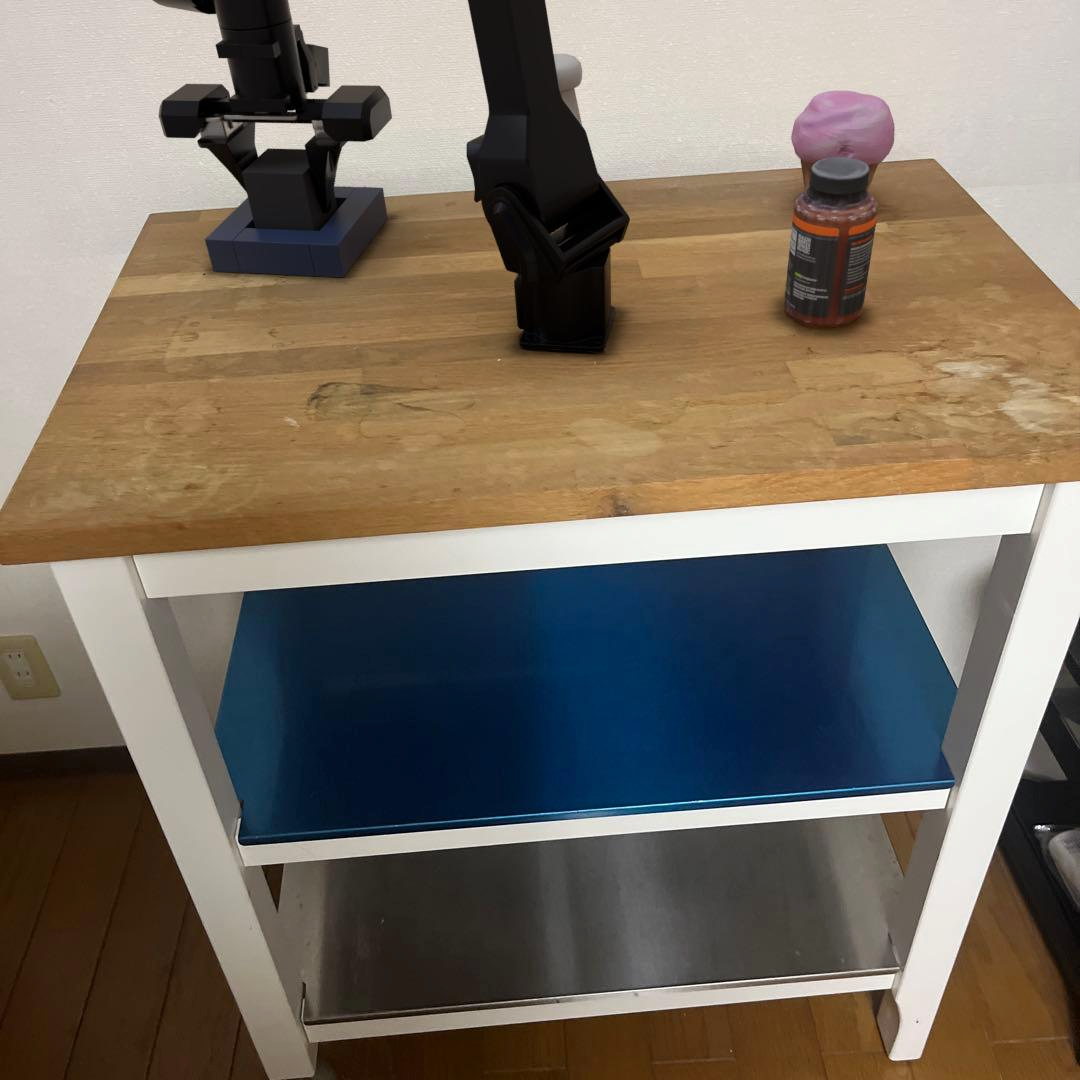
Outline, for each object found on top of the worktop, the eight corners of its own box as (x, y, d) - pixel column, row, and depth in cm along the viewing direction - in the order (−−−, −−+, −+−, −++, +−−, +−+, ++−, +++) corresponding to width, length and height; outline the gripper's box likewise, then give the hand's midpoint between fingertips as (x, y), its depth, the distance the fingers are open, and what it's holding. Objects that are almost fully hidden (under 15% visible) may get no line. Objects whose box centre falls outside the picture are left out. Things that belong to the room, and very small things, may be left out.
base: (387, 218, 97) (383, 187, 95) (343, 277, 88) (337, 244, 86) (268, 214, 100) (261, 183, 98) (213, 271, 91) (204, 239, 89)
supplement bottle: (869, 300, 80) (893, 156, 73) (852, 336, 76) (877, 187, 69) (793, 288, 82) (809, 147, 75) (773, 323, 78) (788, 177, 71)
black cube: (339, 215, 94) (326, 149, 90) (316, 241, 90) (302, 173, 86) (282, 213, 95) (267, 148, 91) (257, 239, 91) (241, 172, 87)
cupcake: (780, 188, 98) (791, 77, 91) (874, 186, 97) (892, 74, 90) (789, 227, 91) (802, 111, 84) (890, 226, 90) (910, 109, 84)
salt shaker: (587, 216, 95) (583, 68, 87) (526, 214, 96) (517, 67, 88) (597, 191, 99) (594, 47, 91) (539, 189, 101) (531, 47, 92)
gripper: (397, -7, 86) (422, 178, 96) (193, -5, 89) (237, 173, 99) (353, 31, 78) (384, 228, 88) (130, 31, 81) (185, 221, 91)
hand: (296, 210), depth 92 cm, fingers closed on black cube, 5 cm apart
